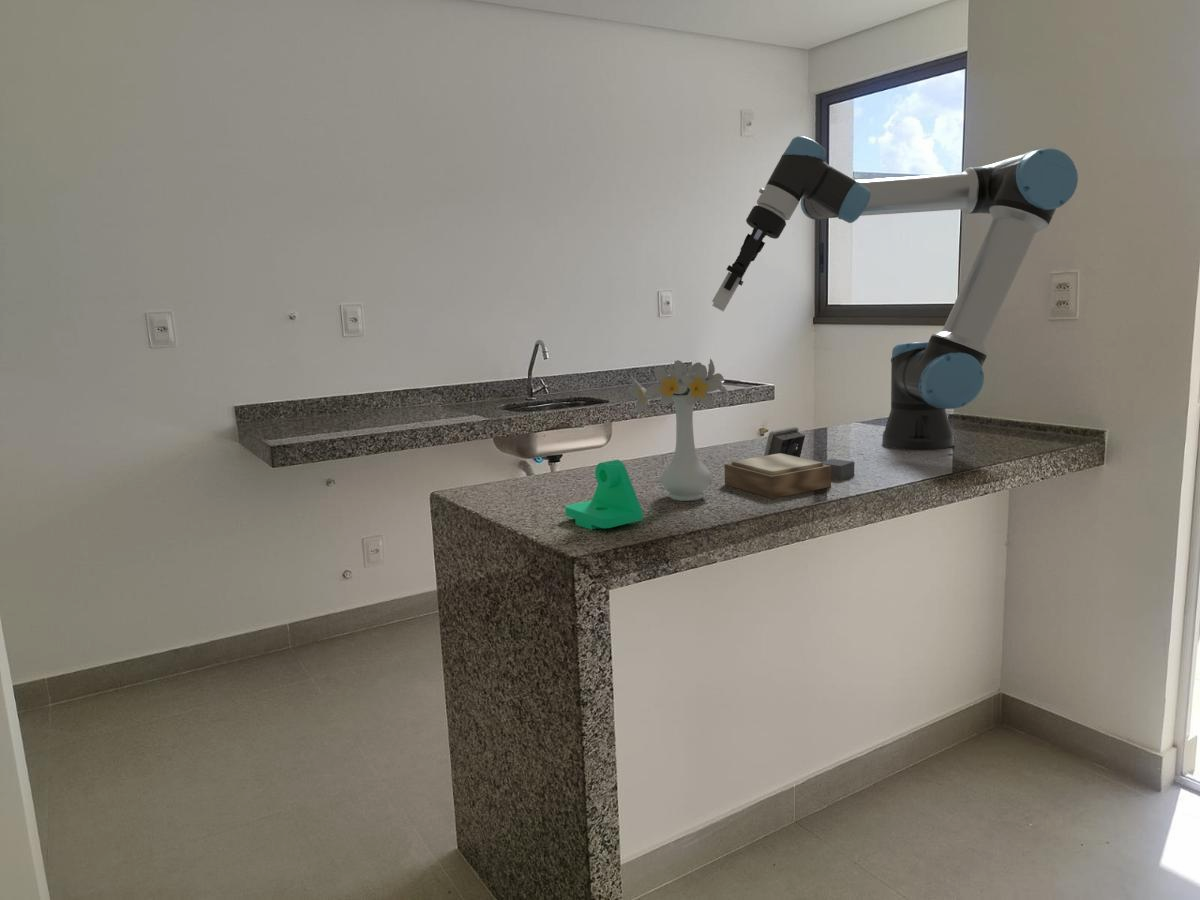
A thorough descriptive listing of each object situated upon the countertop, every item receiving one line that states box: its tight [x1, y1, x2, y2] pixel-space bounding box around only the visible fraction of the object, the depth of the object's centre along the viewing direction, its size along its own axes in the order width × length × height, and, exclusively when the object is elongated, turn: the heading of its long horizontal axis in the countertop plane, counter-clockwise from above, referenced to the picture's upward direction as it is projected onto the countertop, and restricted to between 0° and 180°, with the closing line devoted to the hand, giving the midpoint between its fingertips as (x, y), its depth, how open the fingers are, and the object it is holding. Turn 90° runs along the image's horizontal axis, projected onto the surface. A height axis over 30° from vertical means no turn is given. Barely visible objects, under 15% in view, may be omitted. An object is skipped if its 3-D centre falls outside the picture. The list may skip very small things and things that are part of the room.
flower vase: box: [628, 357, 730, 502], centre depth 155 cm, size 13×18×25 cm
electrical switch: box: [763, 426, 806, 458], centre depth 178 cm, size 8×5×8 cm, turn 127°
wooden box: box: [724, 453, 832, 499], centre depth 163 cm, size 14×14×5 cm
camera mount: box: [564, 459, 643, 531], centre depth 143 cm, size 12×8×10 cm, turn 36°
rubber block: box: [822, 458, 855, 481], centre depth 169 cm, size 5×5×3 cm
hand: (717, 306), depth 177 cm, fingers open, 13 cm apart
